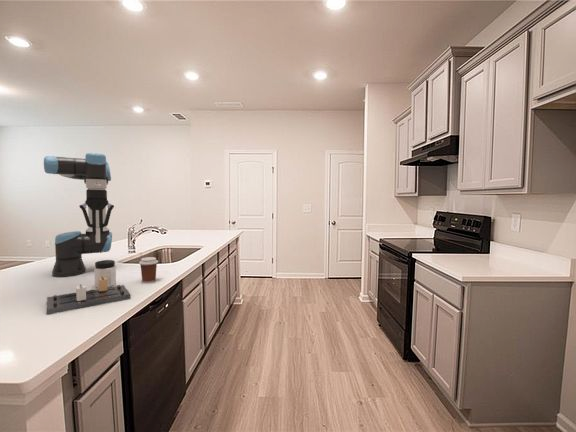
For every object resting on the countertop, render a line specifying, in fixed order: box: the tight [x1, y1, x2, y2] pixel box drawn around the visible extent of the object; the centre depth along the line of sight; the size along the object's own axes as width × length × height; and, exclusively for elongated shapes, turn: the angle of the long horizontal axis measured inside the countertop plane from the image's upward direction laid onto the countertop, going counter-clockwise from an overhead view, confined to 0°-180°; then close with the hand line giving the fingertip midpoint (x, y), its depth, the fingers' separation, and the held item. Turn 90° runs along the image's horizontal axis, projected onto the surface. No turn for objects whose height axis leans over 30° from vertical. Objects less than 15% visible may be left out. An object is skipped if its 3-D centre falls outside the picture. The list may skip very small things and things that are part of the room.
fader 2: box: [97, 277, 108, 292], centre depth 128 cm, size 4×3×6 cm
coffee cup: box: [138, 256, 159, 284], centre depth 150 cm, size 9×9×12 cm
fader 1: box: [75, 283, 87, 301], centre depth 116 cm, size 4×3×6 cm
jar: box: [93, 259, 117, 288], centre depth 141 cm, size 9×8×12 cm
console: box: [46, 284, 131, 315], centre depth 122 cm, size 16×28×3 cm, turn 129°
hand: (98, 242), depth 127 cm, fingers closed
